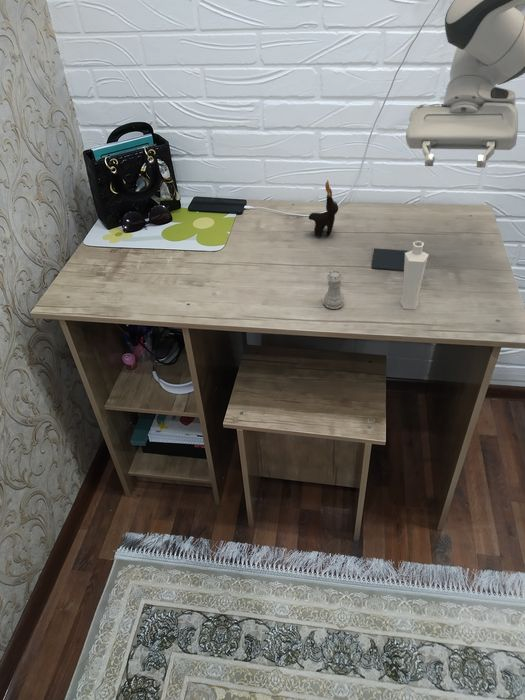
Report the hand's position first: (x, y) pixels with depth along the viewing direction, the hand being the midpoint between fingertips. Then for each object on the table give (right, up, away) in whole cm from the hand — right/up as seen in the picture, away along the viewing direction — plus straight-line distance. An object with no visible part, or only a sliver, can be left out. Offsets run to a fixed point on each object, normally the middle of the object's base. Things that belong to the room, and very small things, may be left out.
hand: (454, 165), depth 107 cm
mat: (-5, -14, +26) cm, 30 cm away
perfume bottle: (-5, -25, +14) cm, 29 cm away
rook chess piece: (-21, -25, +16) cm, 36 cm away
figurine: (-21, -5, +37) cm, 43 cm away
